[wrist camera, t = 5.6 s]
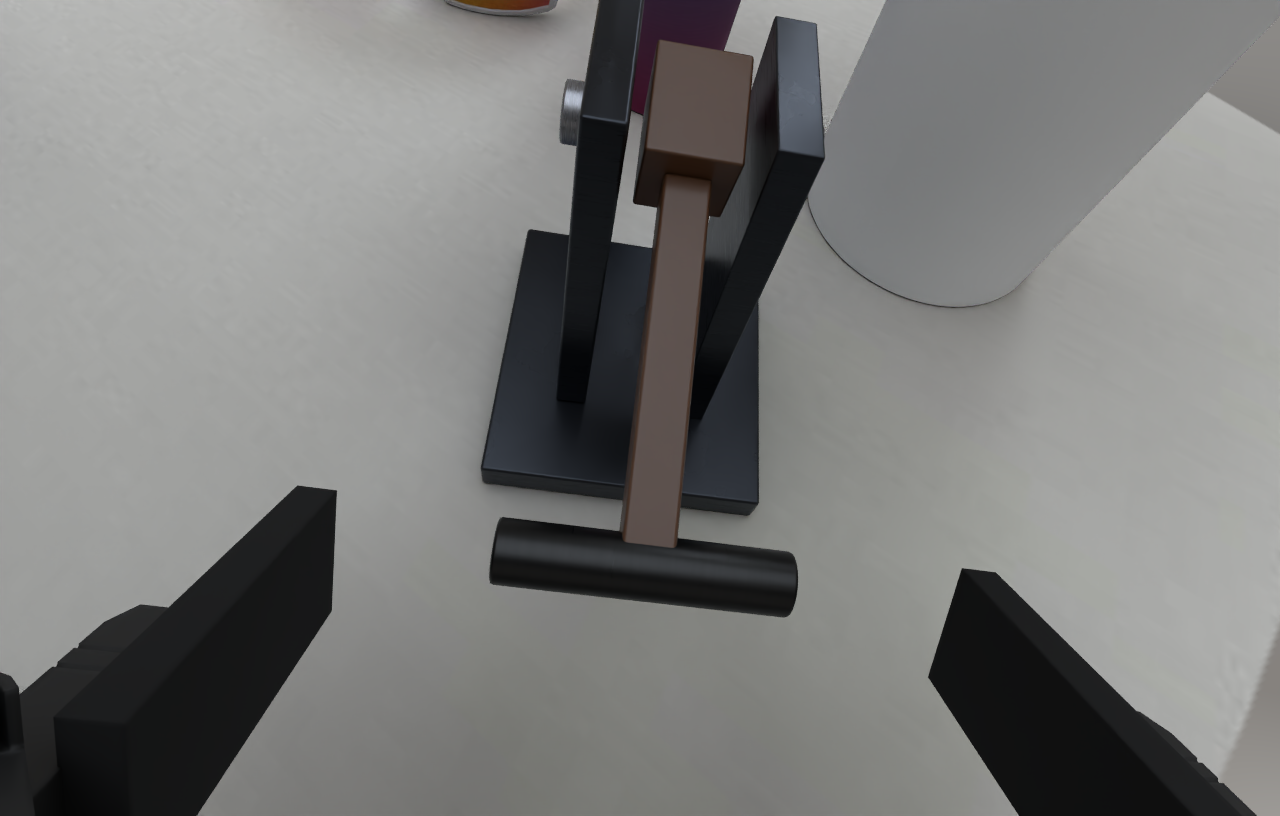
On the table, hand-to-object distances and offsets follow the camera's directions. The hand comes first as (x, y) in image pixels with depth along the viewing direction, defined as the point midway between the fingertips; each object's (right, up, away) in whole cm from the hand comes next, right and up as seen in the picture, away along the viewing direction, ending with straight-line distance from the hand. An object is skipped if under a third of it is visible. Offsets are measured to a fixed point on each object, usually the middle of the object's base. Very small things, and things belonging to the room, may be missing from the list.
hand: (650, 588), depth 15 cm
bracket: (-1, +5, +11) cm, 12 cm away
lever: (0, +5, +2) cm, 6 cm away
